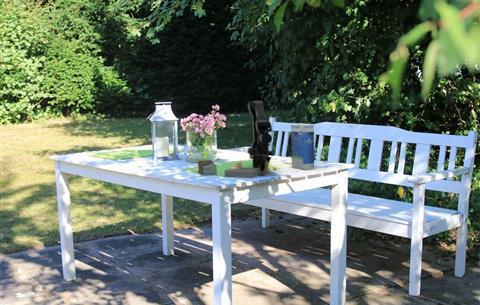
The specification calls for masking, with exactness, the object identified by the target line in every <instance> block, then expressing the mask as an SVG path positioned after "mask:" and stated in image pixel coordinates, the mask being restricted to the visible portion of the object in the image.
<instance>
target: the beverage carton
mask: <svg viewBox="0 0 480 305" xmlns="http://www.w3.org/2000/svg"><path fill="white" fill-rule="evenodd" d="M197 165H198V166H197V167H198V172H199V173H200V174H201V175H202V176H204V177H205V176H206V177H207V176H217V165H216V164H215V162H213V161H212V160H211V159H209V160H208V159H207V160H206V159H205V160H198V161H197Z"/></svg>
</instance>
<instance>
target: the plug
mask: <svg viewBox="0 0 480 305" xmlns="http://www.w3.org/2000/svg"><path fill="white" fill-rule="evenodd" d="M259 169H260V175H268V174H269V164H268V161H266V164H265V168H264V171H261V168H260V165H259Z"/></svg>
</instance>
